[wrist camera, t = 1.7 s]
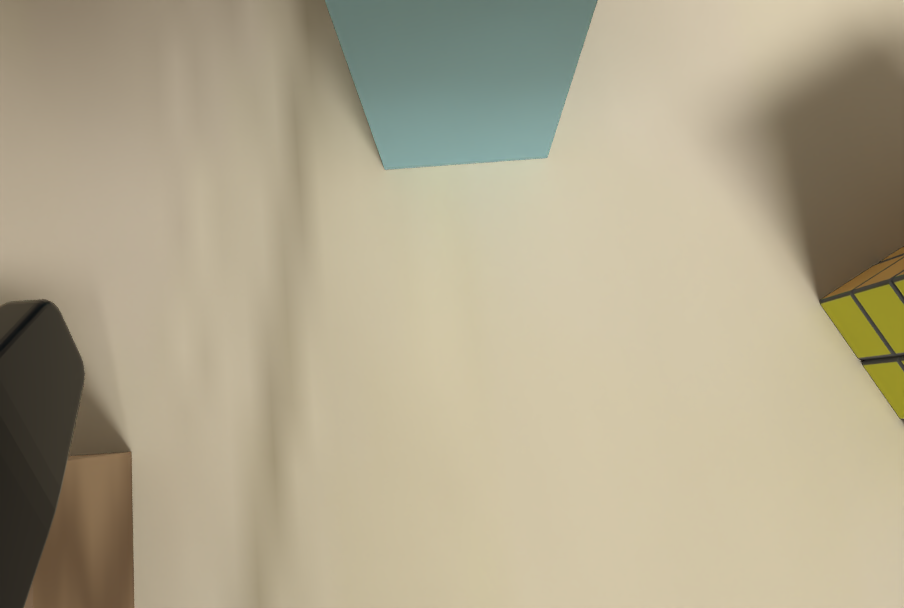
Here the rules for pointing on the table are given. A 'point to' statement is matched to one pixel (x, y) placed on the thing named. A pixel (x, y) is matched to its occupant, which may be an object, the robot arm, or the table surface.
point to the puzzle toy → (875, 323)
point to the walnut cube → (89, 538)
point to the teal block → (461, 75)
